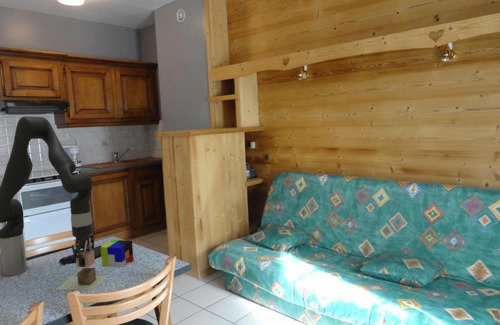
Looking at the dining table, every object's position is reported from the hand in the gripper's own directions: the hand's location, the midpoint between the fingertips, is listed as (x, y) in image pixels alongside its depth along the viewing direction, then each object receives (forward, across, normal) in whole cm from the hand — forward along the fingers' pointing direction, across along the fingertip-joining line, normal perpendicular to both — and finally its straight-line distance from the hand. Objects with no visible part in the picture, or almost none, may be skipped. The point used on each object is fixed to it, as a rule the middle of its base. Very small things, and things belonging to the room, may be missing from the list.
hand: (85, 263), depth 145 cm
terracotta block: (0, 0, 0) cm, 0 cm away
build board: (+9, 0, -2) cm, 9 cm away
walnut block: (+8, 0, 0) cm, 8 cm away
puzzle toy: (+9, -21, +4) cm, 23 cm away
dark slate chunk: (+10, -30, -17) cm, 36 cm away
